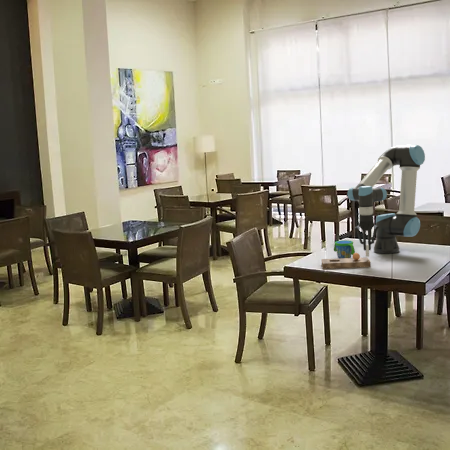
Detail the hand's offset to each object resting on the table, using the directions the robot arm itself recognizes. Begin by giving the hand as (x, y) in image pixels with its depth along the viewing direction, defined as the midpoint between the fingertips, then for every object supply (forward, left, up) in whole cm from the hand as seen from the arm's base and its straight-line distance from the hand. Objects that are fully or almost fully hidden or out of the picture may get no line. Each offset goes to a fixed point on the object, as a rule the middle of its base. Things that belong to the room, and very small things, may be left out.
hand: (367, 256), depth 324 cm
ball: (+6, 0, 0) cm, 6 cm away
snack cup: (+11, -19, -5) cm, 23 cm away
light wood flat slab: (+12, 0, -5) cm, 13 cm away
